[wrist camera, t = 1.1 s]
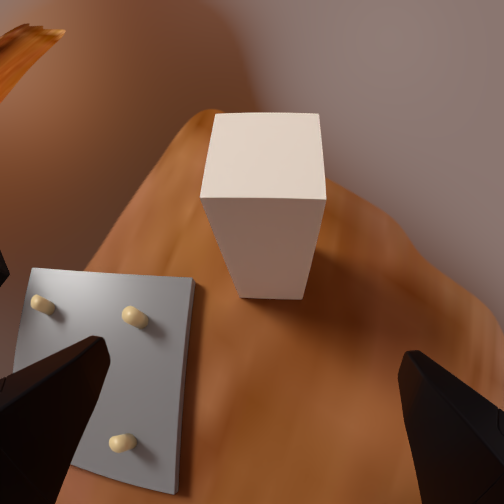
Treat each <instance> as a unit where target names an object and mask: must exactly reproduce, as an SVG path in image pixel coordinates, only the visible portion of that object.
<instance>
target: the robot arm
mask: <svg viewBox="0 0 504 504" xmlns="http://www.w3.org/2000/svg"><path fill="white" fill-rule="evenodd" d="M110 363H111V358H110V354H109V351H108V348H107V345H106V341H105V339H104V338H103V337H101V336H94V335H92V336H89V337H87V338H85V339H83V340H81V341H79V342H77V343H75V344H73V345H71V346H69V347H66V348H64V349H62V350H60V351H58V352H56V353H54V354H52V355H50V356H48V357H46V358H44V359H42V360H40V361H37V362H35V363H33V364H31V365H29V366H27V367H25V368H23V369H21V370H19V371H17V372H15V373H13V374H11V375H9V376H7V377H4V378H2V379H0V504H55V502H56V500H57V497H58V494H59V492H60V489H61V487H62V484H63V481H64V479H65V476H66V474H67V471H68V469H69V466H70V464H71V462H72V459H73V457H74V454H75V452H76V450H77V447H78V445H79V443H80V440H81V438H82V436H83V433H84V431H85V429H86V426H87V424H88V422H89V420H90V417H91V415H92V413H93V411H94V409H95V406H96V404H97V401H98V399H99V396H100V393H101V390H102V387H103V384H104V381H105V378H106V375H107V372H108V370H109V367H110ZM398 383H399V389H400V396H401V403H402V410H403V417H404V423H405V427H406V431H407V435H408V440H409V444H410V448H411V452H412V457H413V461H414V466H415V470H416V475H417V480H418V485H419V490H420V495H421V501H422V504H504V411H502V410H501V409H498V407H497V406H495V405H494V404H493V403H491V402H490V401H489V400H487V399H486V398H484V397H483V396H482V395H480V394H479V393H478V392H476V391H475V390H473V389H472V388H471V387H469V386H468V385H467V384H465V383H464V382H462V381H461V380H460V379H458V378H457V377H455V376H454V375H453V374H451V373H450V372H449V371H447V370H446V369H444V368H443V367H442V366H440V365H439V364H437V363H436V362H435V361H433V360H432V359H430V358H429V357H428V356H426V355H425V354H423V353H422V352H421V351H419V350H412V351H407V352H405V354H404V356H403V359H402V363H401V366H400V369H399V372H398Z"/></svg>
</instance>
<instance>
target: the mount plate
mask: <svg viewBox="0 0 504 504" xmlns="http://www.w3.org/2000/svg"><path fill="white" fill-rule="evenodd" d="M194 290H195V281H194V280H193V278H186V277H166V276H147V275H129V274H113V273H97V272H82V271H68V270H55V269H54V270H53V269H41V268H32V271H31V275H30V279H29V283H28V287H27V291H26V296H25V300H24V305H23V310H22V315H21V320H20V326H19V331H18V337H17V344H16V351H15V359H14V367H13V373H15V372H17V371H19V370H21V369H23V368H25V367H27V366H29V365H31V364H33V363H35V362H37V361H40V360H42V359H44V358H46V357H48V356H50V355H52V354H54V353H56V352H58V351H60V350H62V349H64V348H66V347H69V346H71V345H73V344H75V343H77V342H79V341H81V340H83V339H85V338H87V337H89V336H92V335H94V336H101V337H103V338H104V339H105V341H106V345H107V348H108V351H109V354H110V358H111V363H110V367H109V370H108V372H107V375H106V378H105V381H104V384H103V387H102V390H101V393H100V396H99V399H98V401H97V404H96V406H95V409H94V411H93V413H92V415H91V417H90V420H89V422H88V424H87V426H86V429H85V431H84V433H83V436H82V438H81V440H80V443H79V445H78V447H77V450H76V452H75V454H74V457H73V459H72V462H71V464H72V465H74V466H77V467H79V468H82V469H85V470H88V471H90V472H93V473H96V474H99V475H102V476H105V477H108V478H111V479H115V480H118V481H121V482H125V483H128V484H132V485H135V486H139V487H143V488H147V489H151V490H155V491H160V492H164V493H169V494H175V493H176V492H178V486H179V463H180V444H181V428H182V413H183V400H184V388H185V376H186V365H187V354H188V344H189V334H190V325H191V316H192V307H193V298H194Z"/></svg>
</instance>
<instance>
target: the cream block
mask: <svg viewBox="0 0 504 504" xmlns="http://www.w3.org/2000/svg"><path fill="white" fill-rule="evenodd" d="M200 199H201V202H202V205H203V207H204V210H205V212H206V215H207V217H208V220H209V223H210V225H211V228H212V230H213V233H214V235H215V238H216V240H217V243H218V245H219V248H220V250H221V253H222V255H223V258H224V260H225V263H226V265H227V268H228V270H229V273H230V275H231V278H232V280H233V283H234V285H235V288H236V290H237V292H238V295H239V297H240V298H262V299H296V300H302V298H303V295H304V291H305V287H306V283H307V279H308V275H309V271H310V267H311V263H312V259H313V255H314V251H315V247H316V243H317V238H318V234H319V230H320V225H321V221H322V217H323V212H324V208H325V203H326V187H325V174H324V163H323V151H322V140H321V131H320V121H319V114H309V113H227V114H215V119H214V124H213V129H212V134H211V139H210V144H209V150H208V155H207V160H206V166H205V171H204V177H203V182H202V188H201V194H200Z"/></svg>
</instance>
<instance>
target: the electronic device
mask: <svg viewBox="0 0 504 504" xmlns="http://www.w3.org/2000/svg"><path fill="white" fill-rule="evenodd" d="M9 275H10V273H9V270H8V268H7V266H6V263H5V261H4V258H3V256H2V253H1V251H0V287H1V285H2V284H3V283H4V281H5V280H6V279H7V277H8V276H9Z"/></svg>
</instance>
